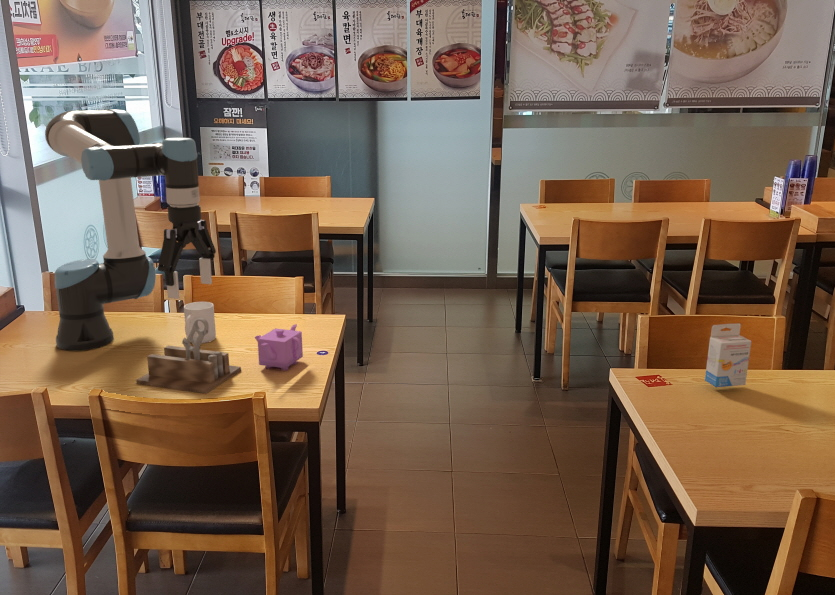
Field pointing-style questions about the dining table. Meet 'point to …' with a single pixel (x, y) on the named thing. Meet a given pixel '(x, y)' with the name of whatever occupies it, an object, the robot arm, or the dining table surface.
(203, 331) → the bracket
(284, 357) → the teapot
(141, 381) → the letter rack
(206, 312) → the mug
